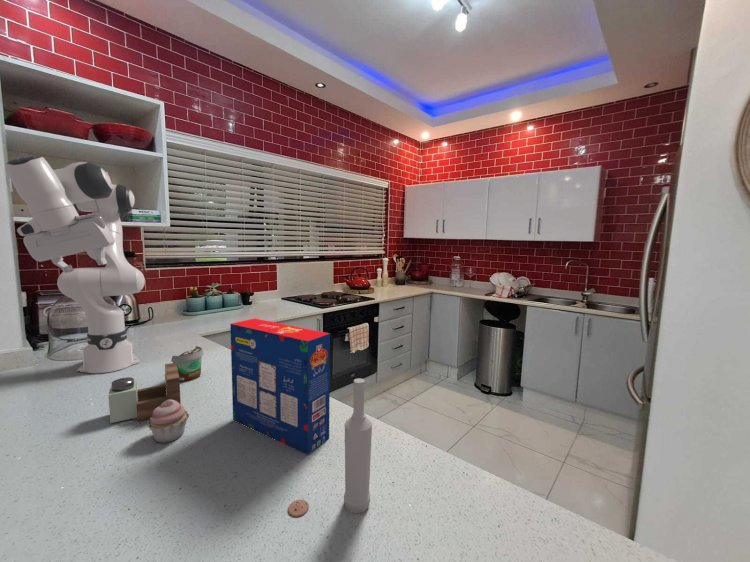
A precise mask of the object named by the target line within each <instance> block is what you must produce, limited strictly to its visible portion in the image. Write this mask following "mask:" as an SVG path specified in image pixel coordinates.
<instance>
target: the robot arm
mask: <svg viewBox="0 0 750 562" xmlns="http://www.w3.org/2000/svg"><path fill="white" fill-rule="evenodd" d="M5 167H6V172H7V174H8V176H9V179H10V181H11V183H12V185H13V187H14V189H15V191H16V192H17V194H18V195H19V198H21V199H22V200H23V202H24V203H26V205H27V208H28V211H29V214H30V215H31V217H32V218H31V219H30V220H28V221H27V222H26V223H24V224H22V225H21V226H19V227H18V228H17V229H16V232H17V233H18V234H19V236H21V237H23V244H24V246H25V248H26V250H27V252H28V253H29V255H30V256H31V258H32V259H34V260H35V261H36V262H39V263H41V262H46V261H50V260H51V262H52V264H53V265H55V266H56V267H58V268H60V269H61V270H62V272H61V274H60V275H59V276H58V278H57V288H58V290H59V291H60V293H61V294H62V295H64V296H66V297H68V298H70V299H72V300H73V301H74V302H75V303H77V304H78V305H79V306H80V307H81V309H82V310H83V311H84V314H85V319H86V323H87V331H88V333H87V335H86V343H87V346H85V347H84V348H83V349H82V365H80V367H79V366H78V368H77V372H78V371H80V372H79V373H88V374H105V373H112V372H116V371H120V370H123V369H126V368H128V367H130V366H133V365H136V364H138V363H140V360H139V358H138V357H137V355H136V354H135V353H134V351H133V345H132V343H131V342H130V341H128V332H127V329H126V326H125V312H124V311H123V309H122V307H118V306H117V305H114V304H111V303H108V302H107V301H106V300H105V299H104V297H114V296H115V297H119V296H120V297H121V296H128V295H134V294H137V293H140V292H141V291H142V290H143V288H144V287H145V283H146V279H145V276H144V274H143V272H142V271H141V270H140V269H138V268H137V267H134V266H133V265H132V264H130V263H129V261H128V260H127V258H126V255H125V253H124V247H123V244H124V243H123V241H124V240H123V239H124V238H123V237H124V236H123V235H124V234H123V233H124V232H123V225H122V220H121V217H122V218H124V217H126V215H127V214H128V213H130V212H131V211H132V210H133V209H134V205H135V202H136V201H135V199H136V198H135V196H134V195H135V194H134V193H133V191H132V189H131V188H130V187H129V186H127V185H124V184H120V183H119V184H113V179H112V177H111V175H110V173H109V172H108V170H107V169H106V168H105V167H104V166H100V165H98V164H96V163H93V162H91V161H90V162H86V161H80V162H79V161H78V162H73V163H70V164H68V165H66V166H64V167H62V168H57V169H53V168H52V166H51V165H50V163H49V162H48V161H47V159H45V158H44V157H43V156H42V155H31V156H25V157H20V158H15V159H11V160H9V161H7V162H6V164H5ZM79 212H89V213H88V214H84V215H80V214H79ZM120 215H121V217H120ZM85 252H86V254H87V256H89V257H90V258H91V259H92V260H95V262H96V263H97V265H98V266H104V265H105V266H104V267H78V268H73V265H72V264H67V263H66V262H65V261H64V260H65V259H64V258H63V257H67V256H68V257H69V256H71V255H76V254H80V253H85Z"/></svg>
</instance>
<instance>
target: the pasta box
mask: <svg viewBox="0 0 750 562" xmlns="http://www.w3.org/2000/svg"><path fill="white" fill-rule="evenodd" d="M330 349H331V333H330V332H329V333H328V332H323V331H320V330H319V331H318V330H314V329H309V328H305V327H299V326H294V325H290V324H285V323H279V322H274V321H269V320H264V319H260V318H254V317H253V318H251V319H246V320H241V321H237V322H232V323H230V358H231V361H230V362H231V365H230V366H231V389H232V391H231V395H232V421H233V420H234V421H233V422H235V421H237V422H239V423H241V424H243V425H245V426H244V427H246V426H247V427H246V428H248V427H249V428H248V429H250V428H252V429H254V430H255V431H254V430H253V431H254V432H256V431H258V432H257V433H259V432H260V433H259V434H261V433H262V434H261V435H263V434H264V435H263V436H265V435H267V436H268V437H267V436H266V437H267V438H269V437H270V439H272V438H273V439H272V440H274V439H275V440H274V441H276V442H278V441H279V442H278V443H280V442H281V444H283V445H285V446H286V447H289V448H291V449H293V448H294V449H293V450H295V451H298V452H300V453H302V454H305V455H306V454H307V456H309V455H310V454H311V453H313V452H314V451H315V450H317V449H318V448H319V447H321V446H322V445H323V444H324V443H326V442H327V441H328V440H329V439H330V392H331V391H330V386H331V385H330V384H331V383H330V382H331V381H330V380H331V378H330V377H331V376H330V375H331V372H330V371H331V354H330V353H331V352H330V351H331V350H330ZM237 422H236V423H237ZM239 423H238V424H239ZM241 424H240V425H241ZM243 425H242V426H243ZM252 429H251V430H252Z"/></svg>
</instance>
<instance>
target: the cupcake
mask: <svg viewBox="0 0 750 562" xmlns="http://www.w3.org/2000/svg"><path fill="white" fill-rule="evenodd" d="M189 417H190V413H188V410H186V409H185V407H184V406H183V404H179V403H178V402H177V401H175V400H169V399H168V400H166V401H165V402H163V403H162V404H161V406H159V407H157V408H156V409H154V411H153V416H152V417H151V418H150V419H149V421H147V423H146V424H147V425H148V426H147V427H148V429H149V430H150V432H152V436H153V439H154V440H155V441H156V442H157V443H160V444H162V443H163V444H165V443H170V442H174V441H176V440H178V439H179V438H181V437H182V436H183V435H184V433H185V429H186V424H187V421H188V419H189Z"/></svg>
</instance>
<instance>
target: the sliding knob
mask: <svg viewBox="0 0 750 562" xmlns="http://www.w3.org/2000/svg"><path fill="white" fill-rule="evenodd" d="M137 382H138V381H137V380H135V378H133V377H129V376H128V377H122V378H117V379H115V380H113V381H112V382H111V383H110V384H111V385H110V387H109V390H108V391H109V392H108V395H107V396H108V407H109V408H108V409H109V420H110V424H113V423H114V424H115V423H117V422H118V423H119V422H123V421H127V420H131V419H132V420H133V419H134V418H136V417H137V402H138V393H137V390H138V383H137Z"/></svg>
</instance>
